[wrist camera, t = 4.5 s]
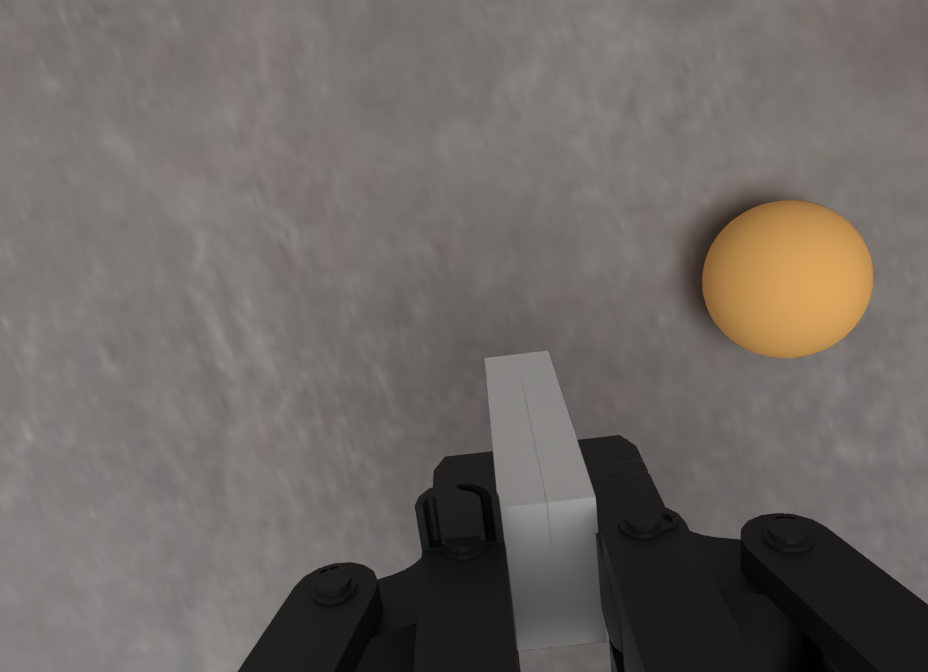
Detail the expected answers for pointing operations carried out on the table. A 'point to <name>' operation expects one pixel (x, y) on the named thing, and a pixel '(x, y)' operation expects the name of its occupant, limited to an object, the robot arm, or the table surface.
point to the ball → (787, 279)
